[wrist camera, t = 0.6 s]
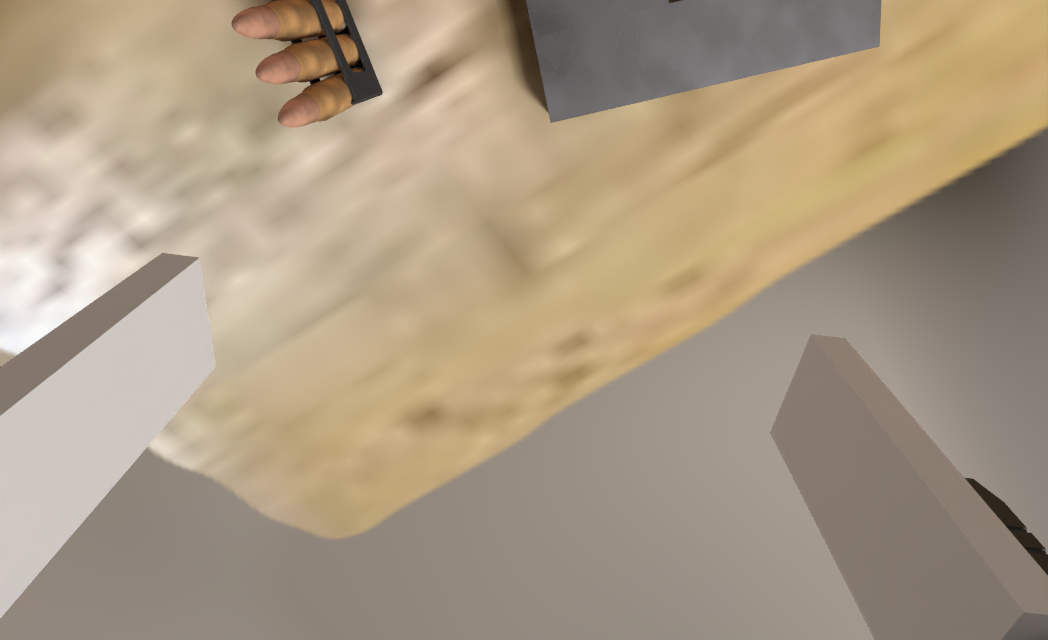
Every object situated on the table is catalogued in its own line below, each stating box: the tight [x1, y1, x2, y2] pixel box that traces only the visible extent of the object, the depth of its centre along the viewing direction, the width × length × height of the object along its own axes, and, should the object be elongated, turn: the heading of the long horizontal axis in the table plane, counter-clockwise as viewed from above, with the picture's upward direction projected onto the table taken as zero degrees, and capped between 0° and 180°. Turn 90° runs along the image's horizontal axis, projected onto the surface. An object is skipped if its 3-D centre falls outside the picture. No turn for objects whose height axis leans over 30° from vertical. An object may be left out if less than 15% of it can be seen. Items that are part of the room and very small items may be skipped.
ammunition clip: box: [232, 0, 383, 127], centre depth 27 cm, size 11×2×12 cm, turn 18°
